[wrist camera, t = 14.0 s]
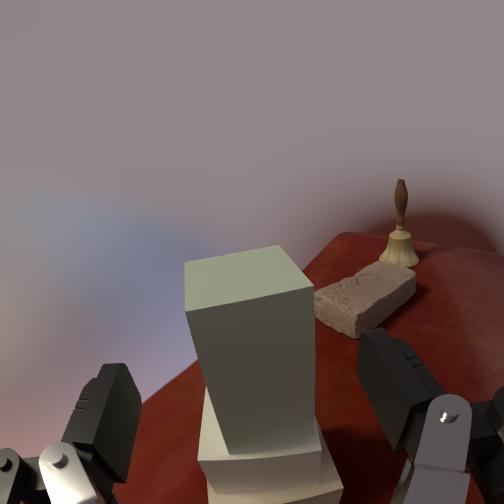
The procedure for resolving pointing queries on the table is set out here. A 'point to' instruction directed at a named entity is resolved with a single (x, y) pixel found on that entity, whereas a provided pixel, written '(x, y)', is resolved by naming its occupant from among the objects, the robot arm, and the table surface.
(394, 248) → the hand bell
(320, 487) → the tower base
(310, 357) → the sage pillar
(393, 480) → the table surface
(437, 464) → the robot arm
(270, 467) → the tower top
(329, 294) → the brick
